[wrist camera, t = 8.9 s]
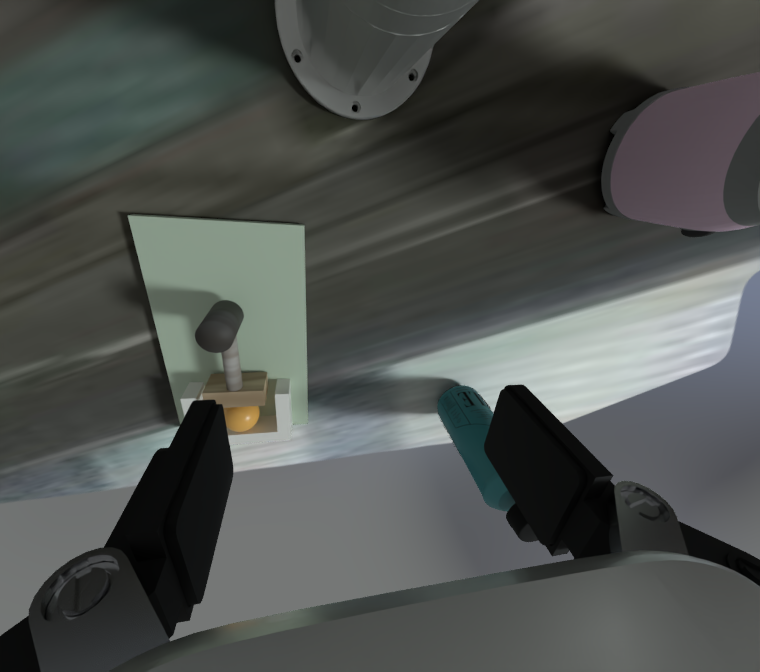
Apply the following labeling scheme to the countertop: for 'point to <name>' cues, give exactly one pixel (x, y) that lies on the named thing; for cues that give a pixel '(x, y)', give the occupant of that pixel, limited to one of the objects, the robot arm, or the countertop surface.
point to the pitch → (227, 298)
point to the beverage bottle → (479, 451)
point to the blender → (689, 158)
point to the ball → (241, 418)
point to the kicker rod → (229, 359)
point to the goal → (266, 426)
